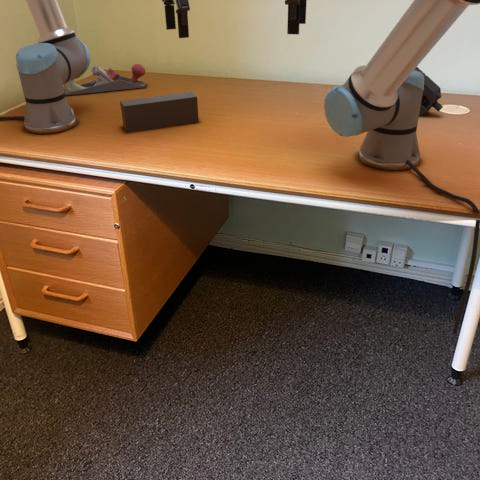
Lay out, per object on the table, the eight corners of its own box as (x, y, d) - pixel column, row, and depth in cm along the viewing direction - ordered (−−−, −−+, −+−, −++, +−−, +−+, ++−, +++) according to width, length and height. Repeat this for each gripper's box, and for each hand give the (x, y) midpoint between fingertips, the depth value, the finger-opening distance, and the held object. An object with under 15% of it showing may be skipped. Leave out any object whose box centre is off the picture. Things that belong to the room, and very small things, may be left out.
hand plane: (62, 90, 197) (53, 48, 189) (145, 82, 205) (140, 41, 197) (62, 96, 191) (54, 53, 184) (148, 87, 199) (143, 45, 191)
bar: (127, 132, 159) (123, 106, 155) (123, 126, 163) (119, 100, 159) (198, 122, 166) (197, 96, 161) (193, 116, 170) (191, 91, 166)
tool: (380, 92, 178) (407, 55, 167) (423, 130, 174) (453, 95, 163) (371, 97, 174) (398, 59, 163) (415, 136, 170) (446, 100, 159)
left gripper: (198, -49, 133) (203, 40, 144) (172, -54, 153) (178, 24, 164) (169, -48, 131) (176, 42, 142) (146, -53, 150) (154, 27, 162)
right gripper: (291, -72, 132) (288, 19, 143) (275, -68, 111) (273, 38, 123) (321, -73, 131) (316, 19, 142) (311, -69, 110) (306, 39, 121)
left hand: (177, 33), depth 153 cm, fingers open, 13 cm apart
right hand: (296, 28), depth 132 cm, fingers open, 13 cm apart
